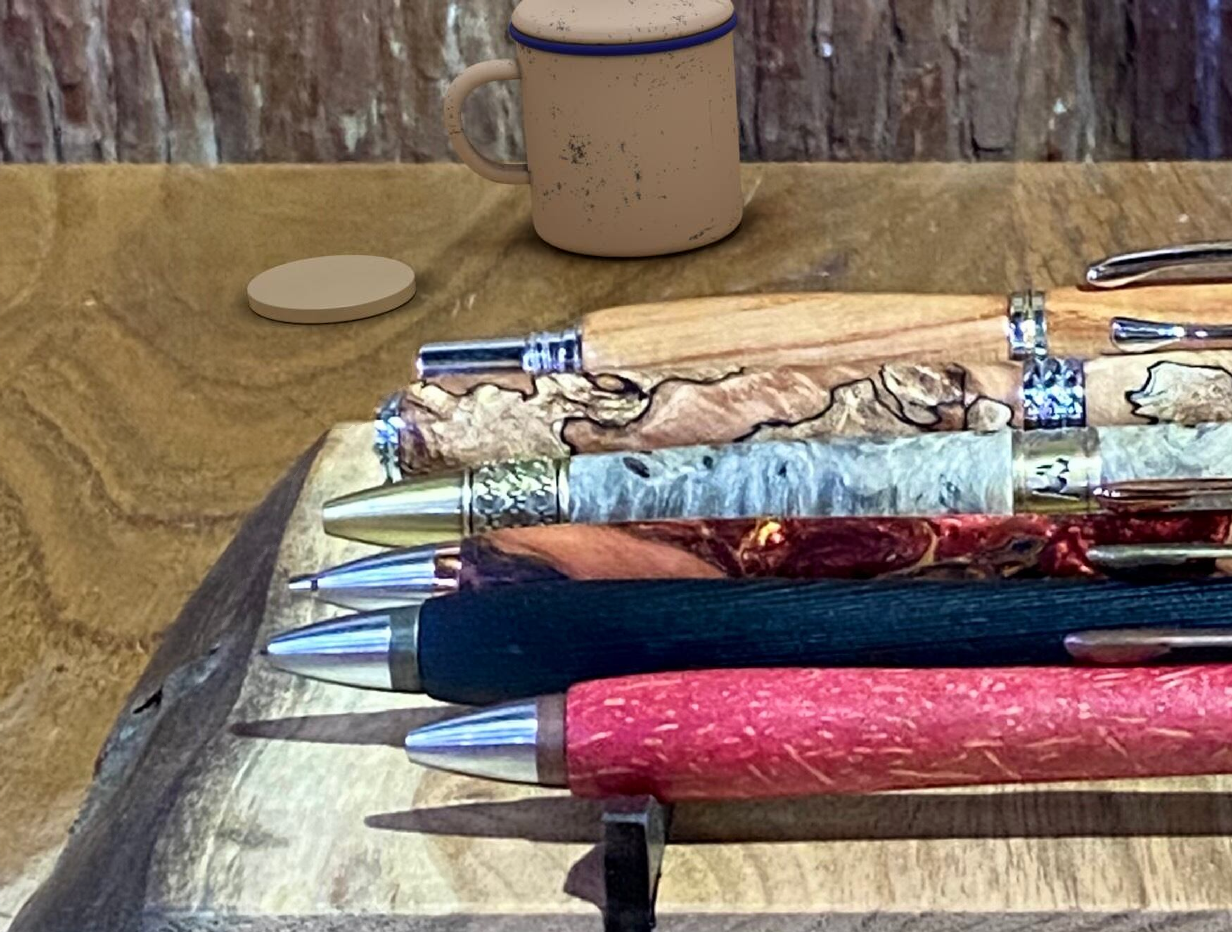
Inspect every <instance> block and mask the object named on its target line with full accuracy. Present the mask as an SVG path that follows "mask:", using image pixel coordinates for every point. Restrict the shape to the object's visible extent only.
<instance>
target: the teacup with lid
mask: <svg viewBox="0 0 1232 932" xmlns="http://www.w3.org/2000/svg"><path fill="white" fill-rule="evenodd" d="M738 18H739V17H738V14H737V11H735V7H734V4H733V1H732V0H521V1H520V2H519V3H518V4H517V5H516V6H515V8H514V9H513V12H512V14H511V22H510V23H509V26H508V33H509V35H510V37H511V39H513V41H515V43H516V53H517V58H503V59H491V60H485V61H481V62H478V63H475V64H472V65H470V66H469V67H467V68H465V69H464V70H462V71H461V72H460V73H459V74H458V75H457V76H456V77H455V78H454V80H452V82H451V83H450V85H449V86H448V88H447V90H446V93H445V97H444V101H443V118H444V120H443V121H444V124H445V129H446V132H447V135H448V138H449V141H450V143H451V145H452V147H453V149H454V150H455V152H456V153H457V155H458V157H459V158H460V160H461V161H462V162H463V163H464V164H465V165H466V166H467V168H469V169H470V170H471V171H472V172H474V173H475V174H477V175H478V176H479V177H481V178H483V179H485V180H488V181H490V182H492V183H497V184H503V185H514V186H516V185H518V186H519V185H529V190H530V200H531V201H530V202H531V212H532V223H533V226H534V227H533V228H534V229H535V231H536V233H537V235H538V236H539V237H540V238H541V239H542V240H543V241H545V243H547V244H549V245H551V246H552V247H555V248H558V249H561V250H564V251H566V252H570V253H576V254H580V255H587V256H595V257H605V258H608V257H609V258H639V257H652V256H662V255H669V254H675V253H679V252H680V253H681V252H685V251H690V250H693V249H697V248H700V247H704V246H706V245H710V244H713V243H715V242H717V241H720V240H721V239H723V238H725V237H727V236H728V235H729V234H731V233H732V232H733V231H734V230H736V228H737V227H738V226H739V224H740V223H741V221H742V218H743V213H744V211H743V210H744V209H743V208H744V207H743V194H742V193H743V192H742V175H741V160H740V159H741V158H740V140H739V139H740V138H739V124H738V107H737V106H738V104H737V87H736V70H735V52H734V36H733V35H734V34H733V30H734V29H735V28H736V26H737V25H738V21H739V19H738ZM510 80H513V81H515V80H519V85H520V86H519V88H520V97H521V107H522V117H523V126H524V128H523V129H524V139H525V149H526V160H527V162H525V163H506V162H499V161H495V160H492V159H490V158H488V157H487V156H485V155H483V154H482V153H481V152H480V151H479V150H477V148H475V146H474V145H473V143H471V140H469V138H468V136H467V134H466V133H465V130H464V127H463V120H462V113H463V107H464V102H465V100H466V99H467V97H468V96H469V95H470V94H471V93H472V92H473V91H474V90H475V89H476V88H478V87H480V86H482V85H484V84H487V83H491V82H497V81H510Z"/></svg>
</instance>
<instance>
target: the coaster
mask: <svg viewBox="0 0 1232 932" xmlns="http://www.w3.org/2000/svg"><path fill="white" fill-rule="evenodd" d="M416 291H417V282H416V274H415V272H414V270H413V268H411V266H409V265H407V263H404V262H402V261H400V260H396V259H392V258H388V257H383V256H377V255H365V254H338V255H336V254H335V255H325V256H316V257H309V258H304V259H299V260H295V261H290V262H286V263H284V264H280V265H277V266H275V267H271V268H269V269H267V270H265V271H263V272H260V273H259V274H257V275H256V276H254V277H253V278H252V279H251V280H250V281H249V283H248V284H247V288H246V294H247V300H248V305H249V307H250V309H251V310H252V311H253V312H254V313H256V314H257V315H259V316H261V317H264V318H266V319H271V320H274V321H279V322H285V323H286V322H287V323H296V324H329V323H341V322H347V321H348V322H349V321H355V320H360V319H365V318H369V317H370V318H371V317H373V316H377V315H381V314H384V313H386V312H390V311H392V310H394V309H396V308H398V307H401V306H402V305H404V304H407V302H408V301H410V300H411V299H412V298H413V297H414V295H415V294H416Z"/></svg>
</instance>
